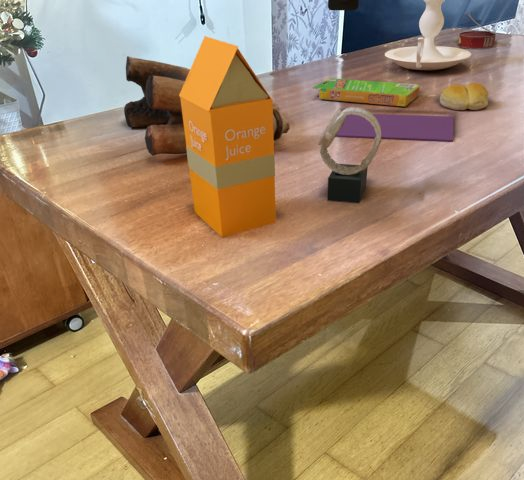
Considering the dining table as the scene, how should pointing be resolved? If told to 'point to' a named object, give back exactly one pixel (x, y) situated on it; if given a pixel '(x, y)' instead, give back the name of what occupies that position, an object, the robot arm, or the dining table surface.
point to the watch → (345, 175)
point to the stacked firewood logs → (167, 106)
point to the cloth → (400, 127)
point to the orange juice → (229, 140)
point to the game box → (368, 92)
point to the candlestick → (428, 44)
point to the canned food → (476, 38)
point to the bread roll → (465, 97)
